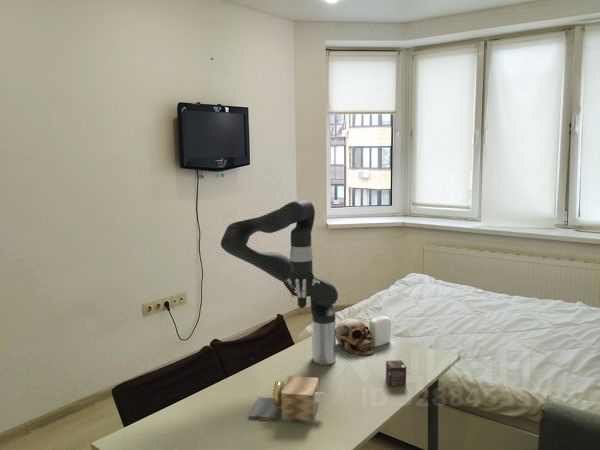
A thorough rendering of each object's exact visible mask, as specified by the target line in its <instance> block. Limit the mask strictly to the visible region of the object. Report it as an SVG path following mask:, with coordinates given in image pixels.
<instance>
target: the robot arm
mask: <svg viewBox="0 0 600 450" xmlns="http://www.w3.org/2000/svg"><path fill="white" fill-rule="evenodd" d="M315 217H316V211H315V207H314V204H313V203H312V201H310V200H308V199H300V200H294V201H291V202H288V203H286V204H285V205H283V206H281V207H280V208H278V209H275V210H273V211H270V212H269V213H266V214H264V215H260V216H258V217H253V218H248V219H244V220H243V219H242V220H238V221H236V222H235V221H234V222H232V223H230V224H229V225H228V226H227V227H226V229H225V231H224V234H223V236H222V237H221V240H220V246H221V248H222V249H223V251H225V252H226V253H228V254H229V255H231V256H234V257H236V258H237V259H240V260H242V261H244V262H246V263H249V264H250V265H253V266H254V267H255V268H258V269H260V270H262V271H263V272H265V273H266V274H268V275H270V276H271V277H273V278H274V279H276V280H278V281H280V282H281V283H283V285H284V286H285V287H286V288H287V290H288V291H289V293H290V294H291V295H292V296H294V297H297V306H298V307H299V309H304V308H305V307H307V304H308V303H307V301H308V300H307V297H309V298H310V312H311V316H312V317H311V318H312V337H311V342H312V343H311V344H312V347H311V348H312V356H311V357H312V360H313V362H314V363H315V364H317V365H320V366H321V365H322V366H328V365H332V364H334V363H336V359H337V358H336V357H337V353H336V352H337V350H336V349H337V348H336V347H337V346H336V344H337V343H336V342H337V340H336V313H335V309H334V304H335V303H337V301H338V299H339V294H338V290H337V289H336V287H335V286H334V285H333V284H332V283H331V282H330V281H328V280H325V279H323V278H321V279H319V278H317V277H315V275H314V273H313V257H314V256H313V248H312V231H313V227H314V221H315ZM292 224H296V225H295V227H294V228H293V229H291V231H290V252H289V253H290V256H289V257H290V258H289V257H287V255H284V254H282V253H280V252H275V251H273V252H271V251H270V252H269V251H268V252H264V251H263V252H262V251H258V250H256V249H254V248H251V247H250V246H248V242H249V239H250V237H251V236H252V235H254V234H255V233H259V232H262V233H265V234H272V233H277V232H279V231H281V230H284V229H286V228H288V227H289V226H291V225H292Z"/></svg>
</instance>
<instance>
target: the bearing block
mask: <svg viewBox="0 0 600 450" xmlns="http://www.w3.org/2000/svg"><path fill="white" fill-rule="evenodd" d="M319 385H320V384H319V377H309V376H308V377H307V376H298V375H296V376H294V375H289V376H288V378H287V380H286V382H285V383H284V388H283V390H282V393H281V402H282V407H275V406H274V405H273V397H262V396H258V398H257V400H255V403H254V404H253V406H252V408H251V410H250V412H249V413H248V419H252V420H260V421H261V420H262V421H263V420H264V421H277V422H286V423H296V424H297V423H298V424H309V425H311V424H312V425H314V423H315V419H316V416H317V412H318V409H319V405H320V402H316V401H315V392H320V389H319Z"/></svg>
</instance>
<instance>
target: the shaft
mask: <svg viewBox="0 0 600 450" xmlns="http://www.w3.org/2000/svg"><path fill="white" fill-rule="evenodd" d="M284 386H285V382H284V381H283V380H275V382H274V385H273V392H272V398H273V405H274V406H275V407H282V402H281V393H282V390H283V388H284ZM326 395H327V394H326V391H319V392H315V401H316V402H319V403H326V399H327V396H326Z"/></svg>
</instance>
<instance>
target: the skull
mask: <svg viewBox="0 0 600 450" xmlns="http://www.w3.org/2000/svg"><path fill="white" fill-rule="evenodd" d="M335 329H336V342H337V343H338V344H340V345H341V347H343V348H344V349H345V352H347V353H350V354H352V355H353V354H354V355H358V356H363V357H364V356H367V357H368V356H371V355H374V354H375V351H374V347H372V345H371V342H370V340H371V339H373V337H372V335H371V334H370V331H369V327H368V326H367V325H366V324H365V323H364V322H363V321H362V320H360V319H357V318H347V319H343V320H340V321H339V322H338V323H337V324H336V325H335Z"/></svg>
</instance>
